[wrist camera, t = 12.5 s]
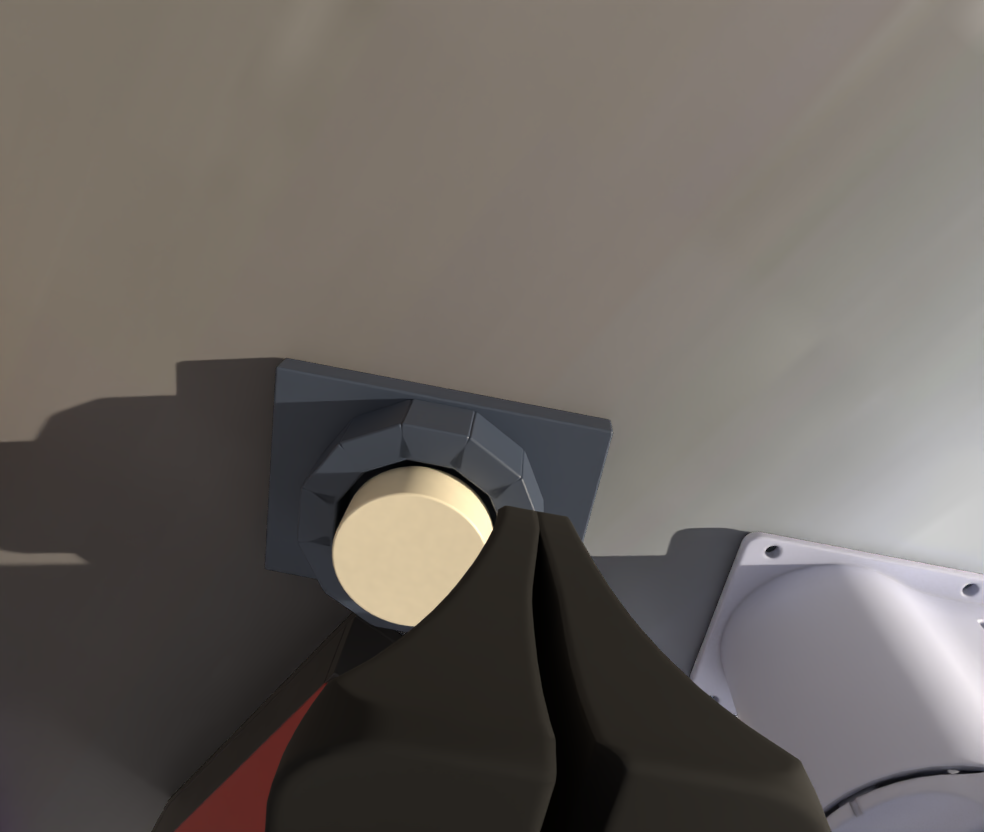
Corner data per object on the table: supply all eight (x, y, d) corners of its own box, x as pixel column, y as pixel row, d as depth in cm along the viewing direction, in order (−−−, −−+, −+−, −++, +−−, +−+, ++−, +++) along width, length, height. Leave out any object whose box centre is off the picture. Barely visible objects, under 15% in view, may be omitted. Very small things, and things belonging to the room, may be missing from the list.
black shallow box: (573, 753, 30) (576, 833, 27) (363, 912, 35) (344, 995, 32) (359, 604, 28) (333, 673, 24) (168, 799, 33) (126, 876, 30)
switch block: (611, 419, 24) (620, 460, 21) (559, 608, 27) (561, 665, 24) (285, 356, 24) (251, 390, 21) (273, 554, 27) (242, 605, 24)
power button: (506, 481, 22) (503, 511, 20) (480, 604, 24) (476, 640, 22) (353, 451, 22) (338, 479, 20) (339, 577, 24) (325, 611, 22)
